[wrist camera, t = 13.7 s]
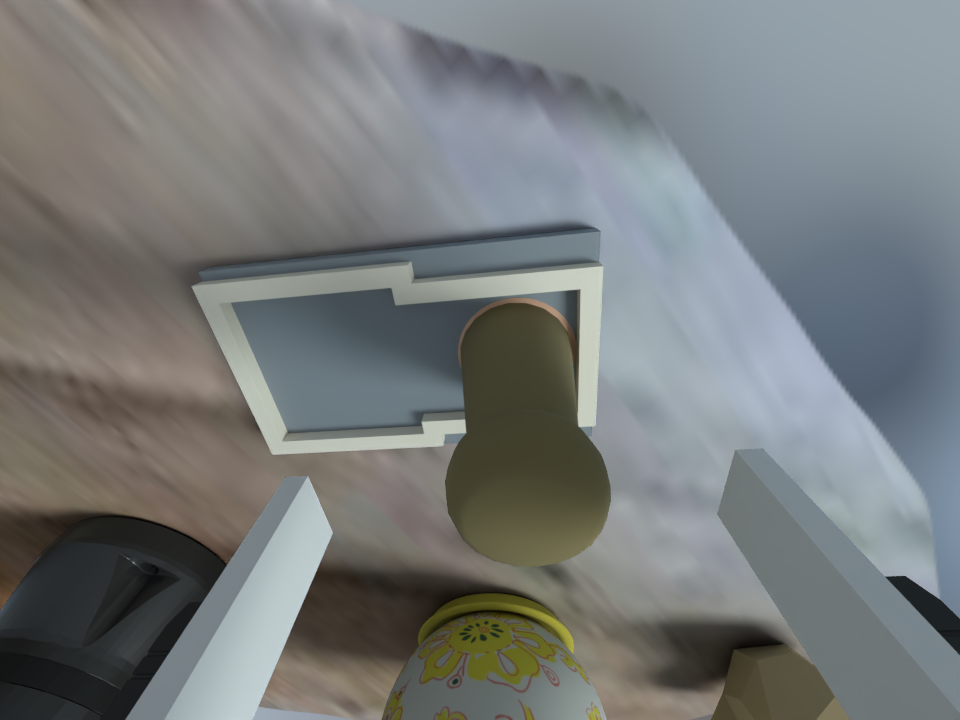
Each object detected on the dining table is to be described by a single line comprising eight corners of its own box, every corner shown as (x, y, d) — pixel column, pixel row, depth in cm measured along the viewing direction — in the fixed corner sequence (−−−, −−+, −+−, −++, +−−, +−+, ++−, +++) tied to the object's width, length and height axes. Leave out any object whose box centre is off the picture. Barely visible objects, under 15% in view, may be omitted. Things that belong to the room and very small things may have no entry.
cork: (439, 332, 20) (381, 497, 10) (545, 282, 18) (597, 420, 8) (490, 415, 22) (483, 612, 12) (587, 377, 21) (665, 569, 11)
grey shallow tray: (289, 441, 25) (275, 460, 24) (211, 266, 20) (186, 276, 18) (588, 425, 23) (594, 444, 22) (595, 227, 18) (604, 234, 16)
